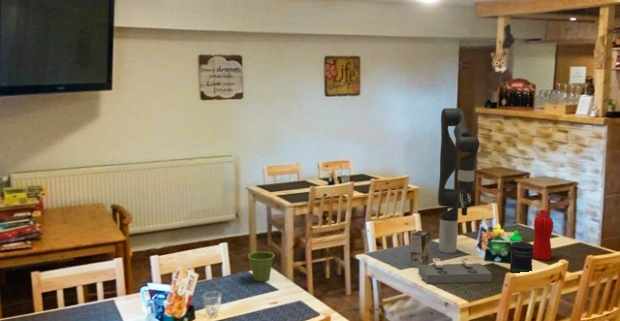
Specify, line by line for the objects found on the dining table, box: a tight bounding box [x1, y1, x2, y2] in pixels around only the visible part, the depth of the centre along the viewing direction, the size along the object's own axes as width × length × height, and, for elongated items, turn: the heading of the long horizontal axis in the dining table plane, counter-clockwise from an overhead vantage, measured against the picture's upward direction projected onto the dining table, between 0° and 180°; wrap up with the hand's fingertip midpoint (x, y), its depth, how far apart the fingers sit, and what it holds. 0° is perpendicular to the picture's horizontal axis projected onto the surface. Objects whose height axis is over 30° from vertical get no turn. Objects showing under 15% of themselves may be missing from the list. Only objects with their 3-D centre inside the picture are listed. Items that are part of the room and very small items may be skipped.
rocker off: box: [432, 258, 444, 268], centre depth 283 cm, size 7×3×1 cm, turn 6°
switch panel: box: [418, 262, 493, 285], centre depth 281 cm, size 14×30×4 cm, turn 96°
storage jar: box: [509, 241, 534, 273], centre depth 283 cm, size 10×10×15 cm
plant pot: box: [247, 251, 275, 282], centre depth 276 cm, size 12×12×11 cm
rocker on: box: [460, 257, 474, 267], centre depth 285 cm, size 7×3×1 cm, turn 6°
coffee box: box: [409, 230, 431, 268], centre depth 298 cm, size 9×6×16 cm
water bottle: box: [532, 209, 554, 261], centre depth 308 cm, size 9×11×25 cm
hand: (464, 215), depth 288 cm, fingers closed
